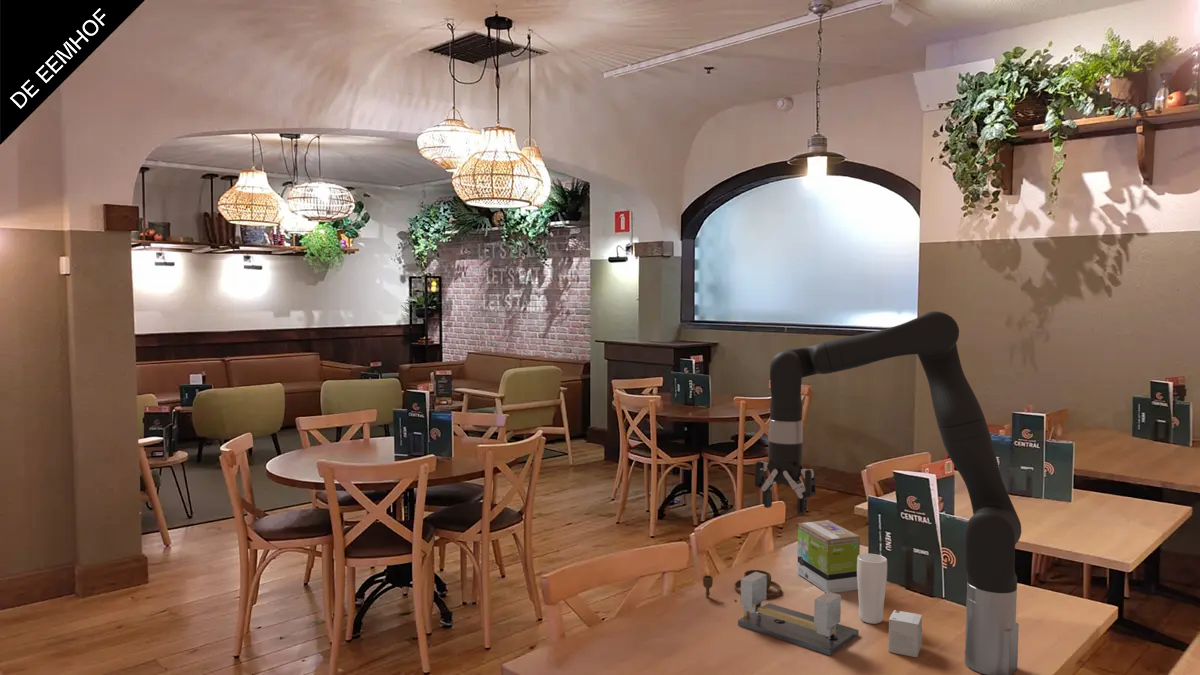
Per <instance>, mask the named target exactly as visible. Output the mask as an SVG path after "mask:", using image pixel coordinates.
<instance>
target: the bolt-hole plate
mask: <svg viewBox="0 0 1200 675" xmlns="http://www.w3.org/2000/svg"><path fill="white" fill-rule="evenodd" d="M763 607H766V608H769V609H773V610H776V611H779V612H782V613H786V614H789V615H792V616H795V617H799V618H802V619H805V620H808V621H812V622H814V615H810V614H807V613H803V612H800V611H797V610H794V609H790V608H787V607H784V606H780V605H776V604H774V603H770V602H768V603H766V604H765V605H763ZM737 626H739V627H742V628H745V629H747V630H751V631H755V632H757V633H760V634H762V635H766V636H769V637H772V638H775V639H778V640H781V641H784V642H787V643H790V644H793V645H797V646H799V647H802V648H804V649H809V650H810V651H811V650H812V651H813V652H816V653H819V654H824V655H826V656H829V657H831V656H833V654H835V653H836V652H838V651H839V650H841V649H842V648H843V647H844V646H846V645H847V644H849V643H850V642H851V641H853V640H854V639H856V638H857V637H858V636H859V633H860V632H859V629H857V628H853V627H849V626H847V625H843V624H840V623H838V624H836V628H835V637H834V639H831V638H830V637H828V636H824V635H821V634H818V633H817V631H815V630H812V629H809V628H806V627H803V626H799V625H796V624H793V623H790V622H787V621H784V620H780V619H777V618H774V617H771V616H768V615H764V614H757V612H756V613H752V612H750V617H748V618H745V617H744V616H743V617H741V618H740V619H738V620H737Z"/></svg>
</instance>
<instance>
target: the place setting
mask: <svg viewBox="0 0 1200 675" xmlns="http://www.w3.org/2000/svg"><path fill="white" fill-rule="evenodd" d="M754 572H759V573H763V574H766V575H767V590H768V589H770V587H772V588H773V589H775V590H776V591H775V592H772V593H766V600H767V599H773V598H776V597H777V596H779V595H780V593H781V591H782V587H781V585H780V584H779V583H777V582H776V581H772V574H771V573H770V572H769V571H768V572H767V571H765V570H760V569H751V570H746V571H744V574H743V577H746V576H748V575H750V574H752V573H754ZM713 578H714V577H713V576H712V575H708V574H707V575H703V577H702V584H703V585H702V586H703V587H704V588H705V598H706V599H710V594H711V593H710V589H711V588H712V586H713V581H714V580H713ZM733 586H734V590H735V591H736V593H738V595H741V589H740V588H739V587H741V579H739V580H736V581H735V582H734V584H733ZM733 601H734V602H735V603H737V602H738V600H737V599H734V600H733Z"/></svg>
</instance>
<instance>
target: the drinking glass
mask: <svg viewBox="0 0 1200 675" xmlns="http://www.w3.org/2000/svg"><path fill="white" fill-rule="evenodd" d="M887 579H888V559H887V558H886V557H885V556H883V555H881V554H877V553H860V555H858V557H857V585H858V589H857V595H858V596H857V598H858V618H859V620H860V621H862V622H864V623H867V624H871V625H874V624H875V625H876V624H880V623H881V622H883V618H884V617H883V616H884V606H885V605H884V604H885V596H886V590H887V588H886V586H887V581H888V580H887Z"/></svg>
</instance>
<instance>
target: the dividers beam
mask: <svg viewBox="0 0 1200 675" xmlns="http://www.w3.org/2000/svg"><path fill="white" fill-rule="evenodd" d="M813 602H814V603H813V604H814V606H813V607H814V608H813V610H814V611H813V616H814V622H812V621H808V620H805V619H802V618H799V617H795V616H792V615H789V614H786V613H782V612H779V611H776V610H773V609H769V608H766V607H763V606H764V605H763V606H762V605H761V606H759V605H756V612H758V613H761V614H764V615H768V616H771V617H774V618H777V619H780V620H784V621H787V622H790V623H793V624H796V625H799V626H803V627H806V628H809V629H812V630H815V631H817V633H818V634H821V635H824V636H828V637H830V638H831V639H834V637H835V628H836V624H840V622H841V610H842V609H841V607H842V606H841V605H842V604H841V603H842V596H841V594H839V593H832V592H827V593H826V592H824V593H823V594H822V595H819V597H817V598H814V601H813ZM750 613H751V612H749V611H745V610H744V609H743V617H745V618H748V617H750Z"/></svg>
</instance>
